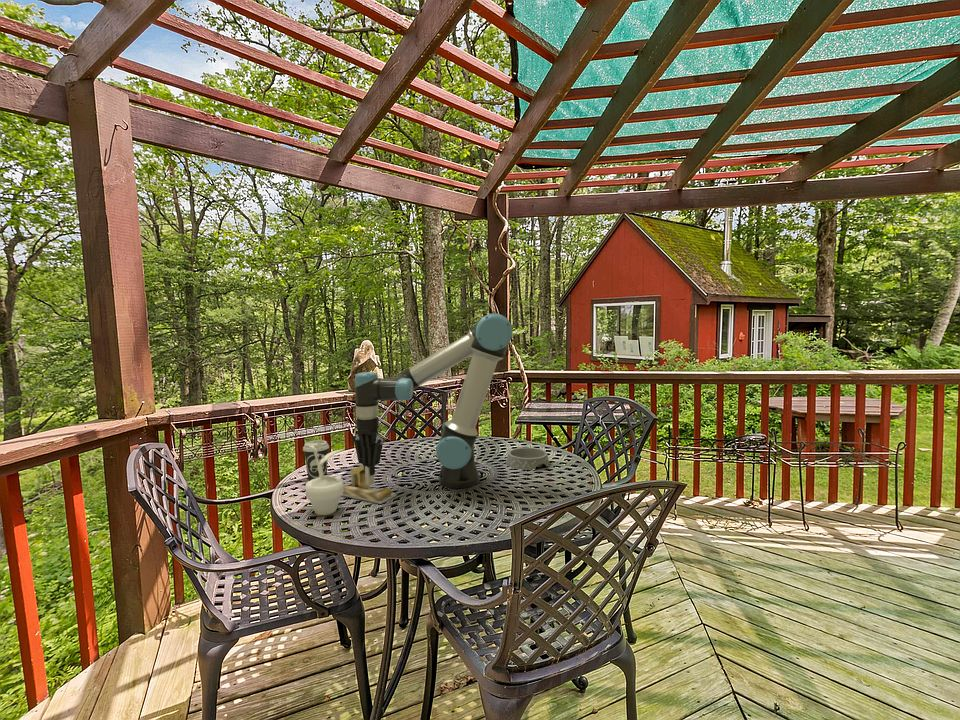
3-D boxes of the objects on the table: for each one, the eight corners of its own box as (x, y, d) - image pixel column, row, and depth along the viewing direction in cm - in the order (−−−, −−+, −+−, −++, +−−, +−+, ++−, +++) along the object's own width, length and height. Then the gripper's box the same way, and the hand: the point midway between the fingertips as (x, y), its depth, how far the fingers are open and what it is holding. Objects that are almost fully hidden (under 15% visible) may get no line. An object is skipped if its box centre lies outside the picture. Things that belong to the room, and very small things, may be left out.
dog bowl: (558, 465, 198) (558, 453, 198) (523, 474, 188) (523, 461, 188) (531, 456, 212) (531, 444, 212) (497, 464, 202) (497, 451, 202)
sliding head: (369, 488, 172) (369, 467, 171) (358, 493, 167) (357, 472, 166) (361, 486, 174) (360, 466, 173) (349, 491, 168) (348, 470, 168)
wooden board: (395, 496, 167) (395, 493, 167) (380, 504, 160) (380, 501, 160) (358, 488, 175) (358, 485, 175) (342, 495, 168) (342, 492, 168)
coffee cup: (336, 479, 186) (334, 441, 184) (318, 487, 177) (316, 447, 176) (317, 476, 190) (315, 438, 188) (298, 483, 181) (296, 444, 180)
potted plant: (308, 522, 147) (304, 441, 145) (305, 508, 158) (301, 433, 155) (350, 514, 152) (347, 437, 150) (345, 501, 163) (342, 429, 160)
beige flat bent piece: (393, 493, 167) (393, 486, 167) (378, 501, 160) (378, 494, 160) (356, 486, 175) (356, 479, 175) (340, 493, 168) (340, 486, 168)
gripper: (389, 416, 166) (391, 483, 168) (360, 413, 172) (362, 477, 174) (374, 421, 160) (377, 490, 162) (345, 417, 166) (348, 484, 168)
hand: (369, 483), depth 168 cm, fingers closed
